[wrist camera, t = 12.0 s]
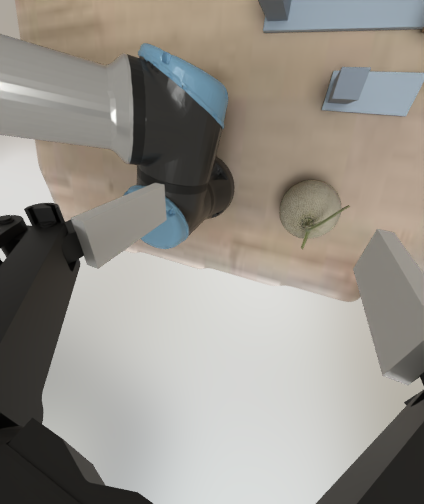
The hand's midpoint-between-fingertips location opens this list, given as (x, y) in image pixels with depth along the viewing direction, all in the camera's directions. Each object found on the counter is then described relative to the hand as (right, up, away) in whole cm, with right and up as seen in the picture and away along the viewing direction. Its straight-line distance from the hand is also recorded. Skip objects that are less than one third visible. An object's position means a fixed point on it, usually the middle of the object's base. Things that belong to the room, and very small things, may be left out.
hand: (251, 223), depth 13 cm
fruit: (+18, +9, +31) cm, 37 cm away
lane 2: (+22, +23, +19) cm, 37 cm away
